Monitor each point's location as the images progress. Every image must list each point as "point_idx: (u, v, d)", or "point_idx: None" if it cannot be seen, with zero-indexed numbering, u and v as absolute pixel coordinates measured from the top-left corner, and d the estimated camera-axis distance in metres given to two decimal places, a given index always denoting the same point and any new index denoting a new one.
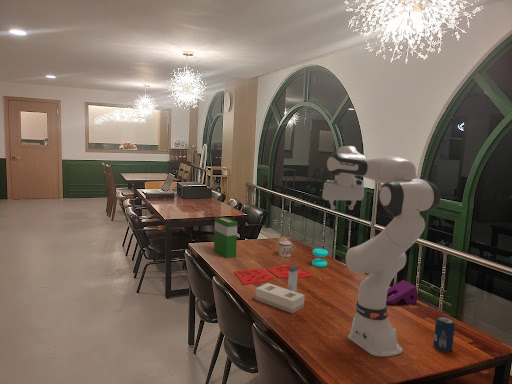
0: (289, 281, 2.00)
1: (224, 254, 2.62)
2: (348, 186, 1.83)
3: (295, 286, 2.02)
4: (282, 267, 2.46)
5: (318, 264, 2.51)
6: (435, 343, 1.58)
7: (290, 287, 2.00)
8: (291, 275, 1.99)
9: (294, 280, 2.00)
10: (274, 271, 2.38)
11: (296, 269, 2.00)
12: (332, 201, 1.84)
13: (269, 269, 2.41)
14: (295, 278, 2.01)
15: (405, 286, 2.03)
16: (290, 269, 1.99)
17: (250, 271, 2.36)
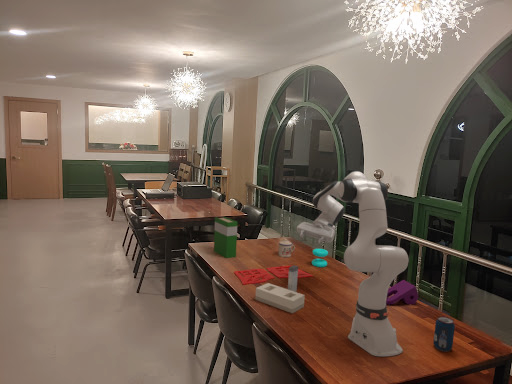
0: (289, 281, 2.00)
1: (224, 254, 2.62)
2: (319, 224, 2.12)
3: (295, 286, 2.02)
4: (282, 267, 2.46)
5: (318, 264, 2.51)
6: (435, 343, 1.58)
7: (290, 287, 2.00)
8: (291, 275, 1.99)
9: (294, 280, 2.00)
10: (274, 271, 2.38)
11: (296, 269, 2.00)
12: (302, 230, 2.11)
13: (269, 269, 2.41)
14: (295, 278, 2.01)
15: (405, 286, 2.03)
16: (290, 269, 1.99)
17: (250, 271, 2.36)
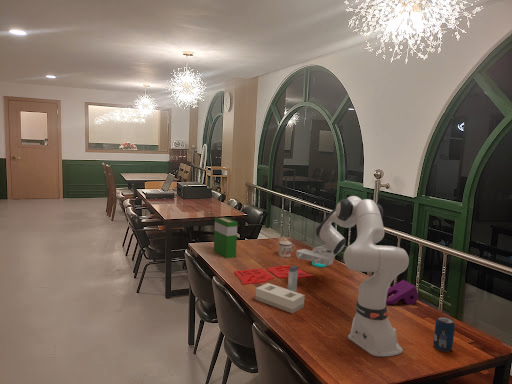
0: (289, 281, 2.00)
1: (224, 254, 2.62)
2: (318, 250, 2.18)
3: (295, 286, 2.02)
4: (282, 267, 2.46)
5: (318, 264, 2.51)
6: (435, 343, 1.58)
7: (290, 287, 2.00)
8: (291, 275, 1.99)
9: (294, 280, 2.00)
10: (274, 271, 2.38)
11: (296, 269, 2.00)
12: (301, 253, 2.16)
13: (269, 269, 2.41)
14: (295, 278, 2.01)
15: (405, 286, 2.03)
16: (290, 269, 1.99)
17: (250, 271, 2.36)
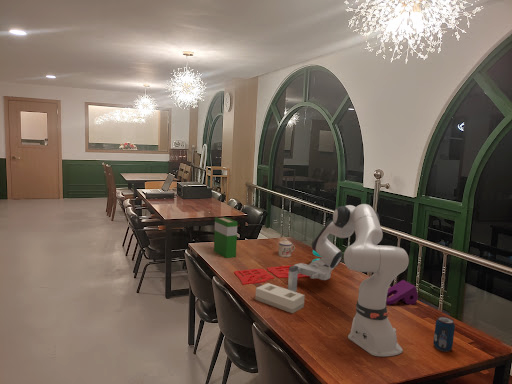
0: (289, 281, 2.00)
1: (224, 254, 2.62)
2: (316, 264, 2.17)
3: (295, 286, 2.02)
4: (282, 267, 2.46)
5: None
6: (435, 343, 1.58)
7: (290, 287, 2.00)
8: (291, 275, 1.99)
9: (294, 280, 2.00)
10: (274, 271, 2.38)
11: (296, 269, 2.00)
12: (298, 268, 2.15)
13: (269, 269, 2.41)
14: (295, 278, 2.01)
15: (405, 286, 2.03)
16: (290, 269, 1.99)
17: (250, 271, 2.36)
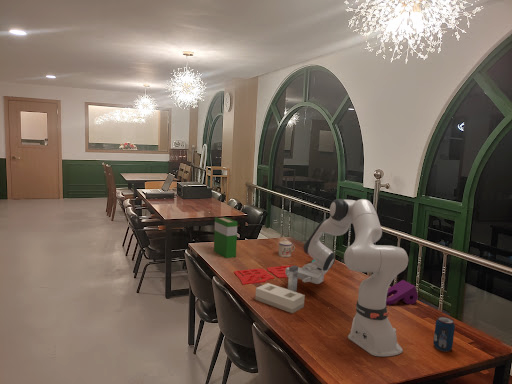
0: (289, 281, 2.00)
1: (224, 254, 2.62)
2: (308, 267, 2.11)
3: (295, 286, 2.02)
4: (282, 267, 2.46)
5: None
6: (435, 343, 1.58)
7: (290, 287, 2.00)
8: (291, 275, 1.99)
9: (294, 280, 2.00)
10: (274, 271, 2.38)
11: (296, 269, 2.00)
12: None
13: (269, 269, 2.41)
14: (295, 278, 2.01)
15: (405, 286, 2.03)
16: (290, 269, 1.99)
17: (250, 271, 2.36)
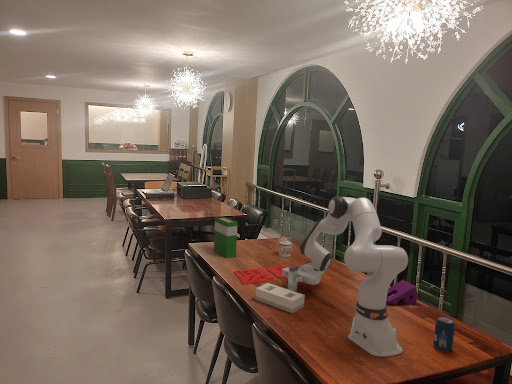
0: (289, 281, 2.00)
1: (224, 254, 2.62)
2: (305, 268, 2.08)
3: (295, 286, 2.02)
4: (282, 267, 2.46)
5: None
6: (435, 343, 1.58)
7: (290, 287, 2.00)
8: (291, 275, 1.99)
9: None
10: (274, 271, 2.38)
11: (296, 269, 2.00)
12: None
13: (269, 269, 2.41)
14: None
15: (405, 286, 2.03)
16: (290, 269, 1.99)
17: (250, 271, 2.36)
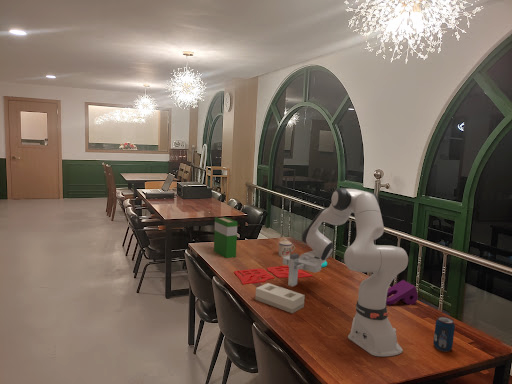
0: (290, 269, 1.99)
1: (224, 254, 2.62)
2: (306, 256, 2.07)
3: (296, 274, 2.01)
4: (282, 267, 2.46)
5: None
6: (435, 343, 1.58)
7: (291, 275, 1.98)
8: (292, 262, 1.98)
9: None
10: (274, 271, 2.38)
11: (297, 257, 1.99)
12: None
13: (269, 269, 2.41)
14: None
15: (405, 286, 2.03)
16: (291, 256, 1.98)
17: (250, 271, 2.36)
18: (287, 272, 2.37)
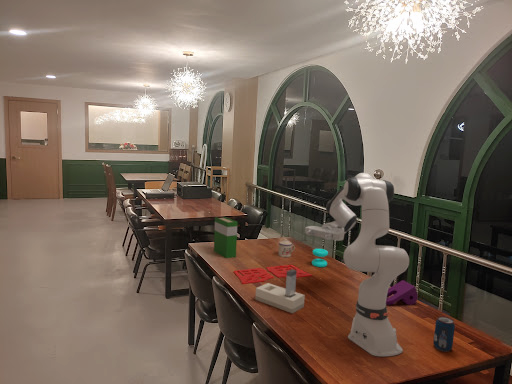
0: (287, 286, 1.87)
1: (224, 254, 2.62)
2: (328, 226, 2.09)
3: (293, 291, 1.89)
4: (281, 266, 2.47)
5: (318, 264, 2.51)
6: (435, 343, 1.58)
7: (288, 292, 1.87)
8: (289, 280, 1.86)
9: (292, 285, 1.87)
10: (273, 270, 2.39)
11: (294, 273, 1.88)
12: (310, 230, 2.08)
13: (268, 268, 2.42)
14: (293, 283, 1.88)
15: (405, 286, 2.03)
16: (288, 273, 1.86)
17: (249, 270, 2.37)
18: None
